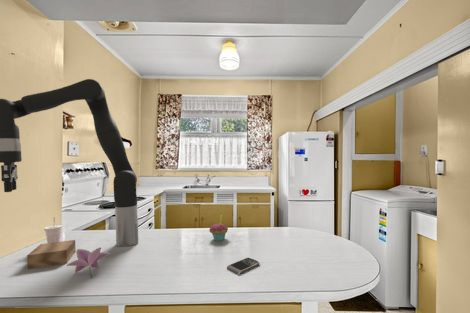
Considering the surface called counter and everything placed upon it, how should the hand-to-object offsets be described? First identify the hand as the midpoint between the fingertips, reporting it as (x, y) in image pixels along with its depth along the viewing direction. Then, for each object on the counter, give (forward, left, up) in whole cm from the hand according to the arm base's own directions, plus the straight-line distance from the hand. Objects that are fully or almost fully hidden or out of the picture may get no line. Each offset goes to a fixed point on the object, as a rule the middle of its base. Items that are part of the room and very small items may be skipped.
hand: (10, 190), depth 98 cm
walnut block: (-16, +8, -27) cm, 33 cm away
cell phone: (-82, +43, -28) cm, 97 cm away
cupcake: (-82, +12, -27) cm, 87 cm away
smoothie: (-12, -6, -27) cm, 30 cm away
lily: (-32, +27, -27) cm, 50 cm away
